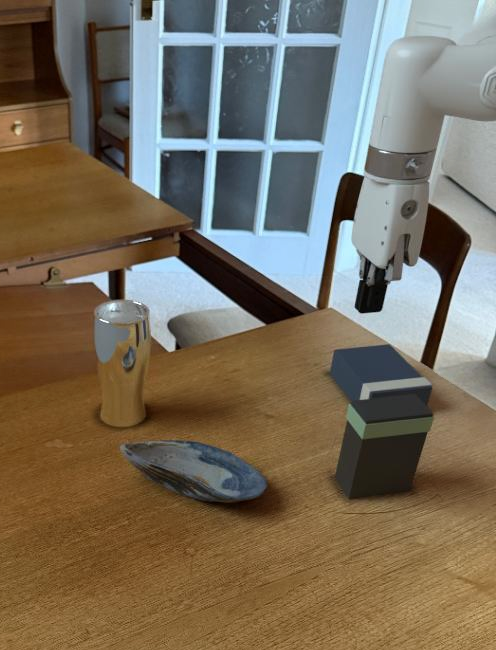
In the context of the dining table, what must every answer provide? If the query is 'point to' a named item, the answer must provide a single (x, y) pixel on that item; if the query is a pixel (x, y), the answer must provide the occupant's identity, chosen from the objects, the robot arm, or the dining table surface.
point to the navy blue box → (377, 374)
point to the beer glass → (122, 359)
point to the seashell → (196, 470)
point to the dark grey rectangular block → (382, 445)
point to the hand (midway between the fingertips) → (367, 310)
